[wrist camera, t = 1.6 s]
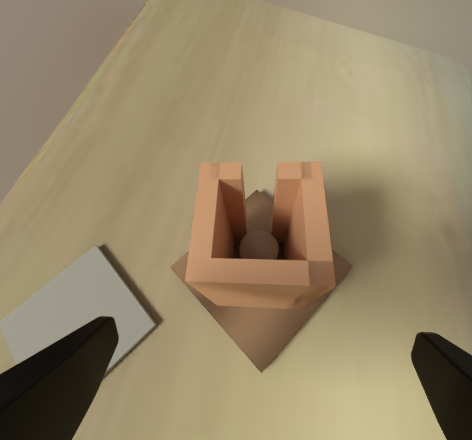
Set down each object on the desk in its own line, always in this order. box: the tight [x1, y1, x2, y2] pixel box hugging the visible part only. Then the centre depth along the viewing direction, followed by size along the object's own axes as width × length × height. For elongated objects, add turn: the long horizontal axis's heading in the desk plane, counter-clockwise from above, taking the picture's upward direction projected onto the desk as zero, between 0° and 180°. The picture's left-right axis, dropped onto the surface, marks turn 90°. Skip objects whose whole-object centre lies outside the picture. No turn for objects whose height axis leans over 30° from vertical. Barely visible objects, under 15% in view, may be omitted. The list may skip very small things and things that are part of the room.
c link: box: [185, 162, 336, 309], centre depth 15 cm, size 6×6×9 cm
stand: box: [170, 190, 352, 373], centre depth 18 cm, size 10×10×5 cm
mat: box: [0, 245, 157, 376], centre depth 19 cm, size 9×9×1 cm
